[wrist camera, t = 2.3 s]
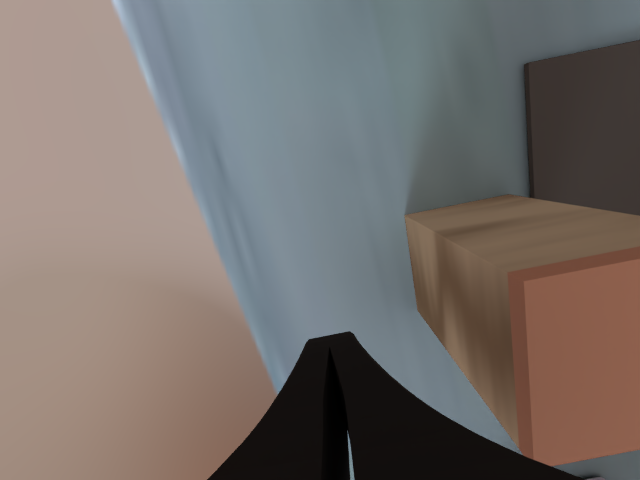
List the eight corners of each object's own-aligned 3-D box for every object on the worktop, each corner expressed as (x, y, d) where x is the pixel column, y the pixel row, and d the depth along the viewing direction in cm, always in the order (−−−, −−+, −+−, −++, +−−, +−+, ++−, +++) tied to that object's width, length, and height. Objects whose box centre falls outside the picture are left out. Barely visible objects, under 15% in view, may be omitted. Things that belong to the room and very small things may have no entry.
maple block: (514, 291, 17) (737, 431, 8) (417, 310, 17) (534, 469, 8) (508, 194, 16) (759, 235, 7) (404, 215, 16) (523, 281, 7)
